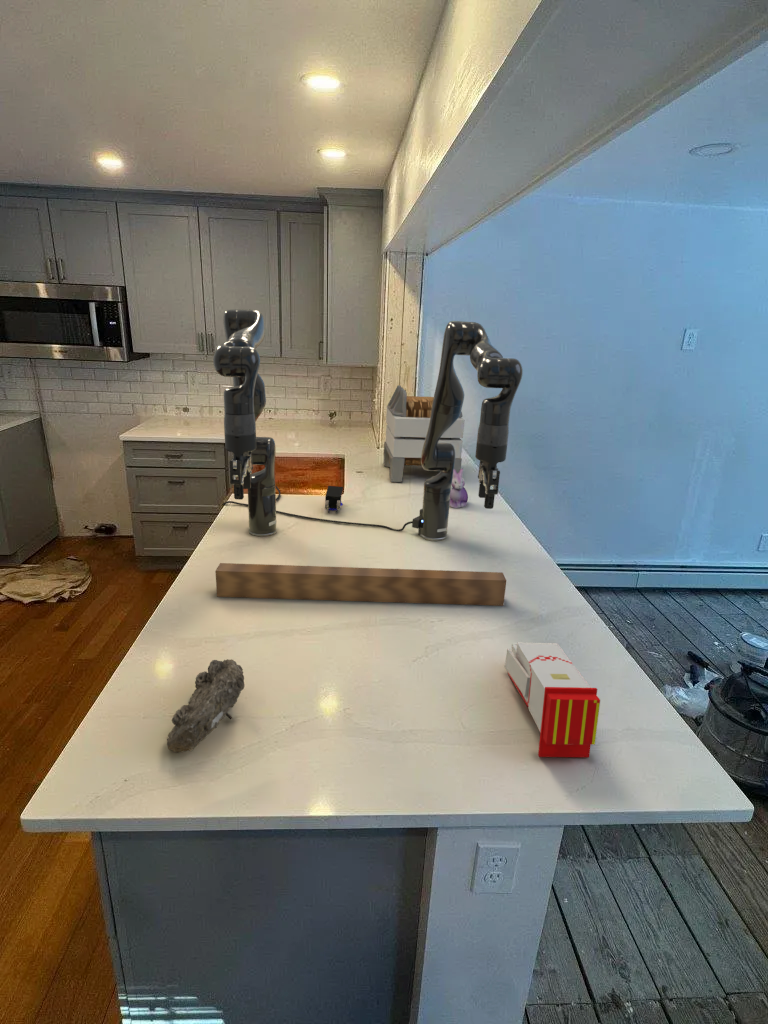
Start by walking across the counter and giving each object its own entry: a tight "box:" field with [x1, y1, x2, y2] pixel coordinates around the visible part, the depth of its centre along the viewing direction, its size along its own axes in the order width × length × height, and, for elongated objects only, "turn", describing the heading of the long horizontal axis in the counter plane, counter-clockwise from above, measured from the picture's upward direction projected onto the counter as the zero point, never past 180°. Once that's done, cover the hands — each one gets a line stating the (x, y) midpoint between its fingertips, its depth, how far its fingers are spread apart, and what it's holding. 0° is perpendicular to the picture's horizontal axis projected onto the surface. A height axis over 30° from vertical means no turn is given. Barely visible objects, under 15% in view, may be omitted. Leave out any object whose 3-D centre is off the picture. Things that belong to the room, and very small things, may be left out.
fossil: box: [166, 658, 245, 754], centre depth 106 cm, size 22×10×15 cm
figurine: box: [449, 468, 469, 509], centre depth 230 cm, size 9×10×15 cm
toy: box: [504, 642, 601, 758], centre depth 113 cm, size 12×13×30 cm
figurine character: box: [324, 485, 344, 514], centre depth 220 cm, size 7×8×15 cm
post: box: [214, 562, 507, 607], centre depth 154 cm, size 77×5×8 cm, turn 91°
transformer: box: [383, 384, 465, 483], centre depth 268 cm, size 34×33×41 cm
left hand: (242, 493), depth 144 cm, fingers open, 8 cm apart
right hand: (485, 502), depth 146 cm, fingers open, 8 cm apart
